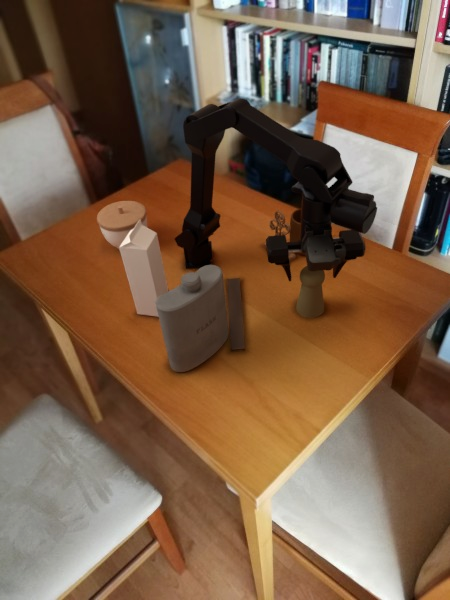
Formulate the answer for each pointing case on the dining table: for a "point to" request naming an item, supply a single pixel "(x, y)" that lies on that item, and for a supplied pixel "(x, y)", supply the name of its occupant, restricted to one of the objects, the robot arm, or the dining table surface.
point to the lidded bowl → (120, 220)
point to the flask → (194, 318)
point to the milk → (144, 268)
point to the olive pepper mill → (311, 293)
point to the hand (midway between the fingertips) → (311, 278)
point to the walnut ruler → (235, 315)
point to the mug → (295, 227)
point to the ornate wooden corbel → (273, 227)
